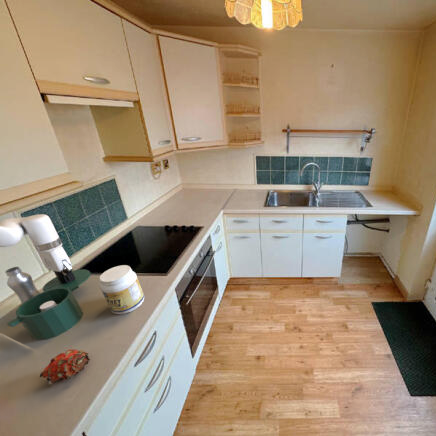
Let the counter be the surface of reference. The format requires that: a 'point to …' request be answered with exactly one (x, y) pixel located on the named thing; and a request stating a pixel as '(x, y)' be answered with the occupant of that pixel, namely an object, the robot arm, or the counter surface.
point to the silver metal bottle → (21, 284)
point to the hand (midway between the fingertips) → (67, 279)
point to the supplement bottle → (47, 305)
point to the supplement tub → (121, 289)
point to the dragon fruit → (65, 365)
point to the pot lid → (55, 283)
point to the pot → (49, 313)
